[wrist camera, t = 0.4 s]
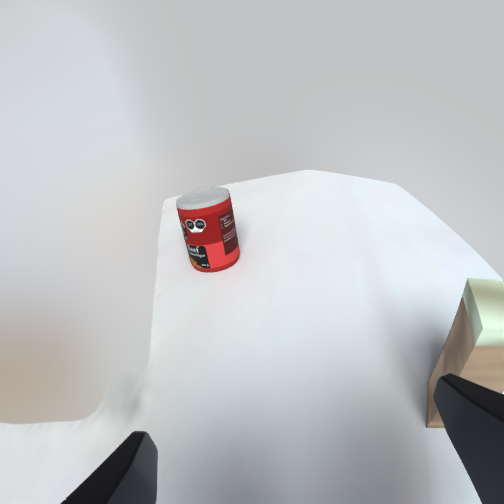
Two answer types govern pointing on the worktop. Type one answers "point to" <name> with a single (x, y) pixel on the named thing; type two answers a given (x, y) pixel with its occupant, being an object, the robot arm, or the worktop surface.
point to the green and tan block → (473, 342)
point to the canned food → (209, 228)
